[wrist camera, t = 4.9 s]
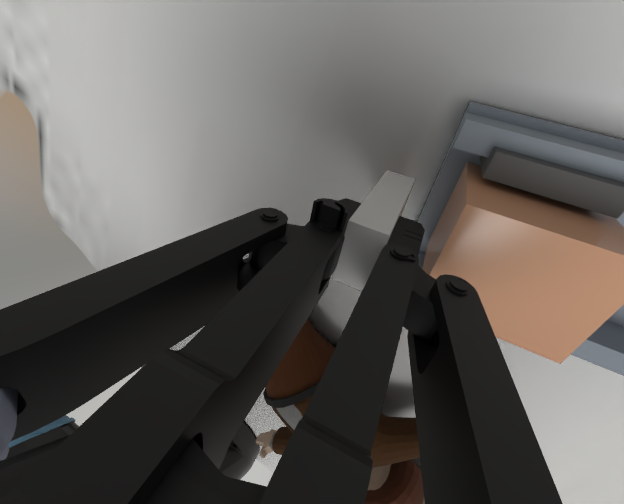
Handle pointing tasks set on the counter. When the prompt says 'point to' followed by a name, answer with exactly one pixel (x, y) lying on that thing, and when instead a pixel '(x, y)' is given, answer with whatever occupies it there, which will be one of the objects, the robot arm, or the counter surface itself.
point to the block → (530, 262)
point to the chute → (540, 184)
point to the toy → (389, 434)
